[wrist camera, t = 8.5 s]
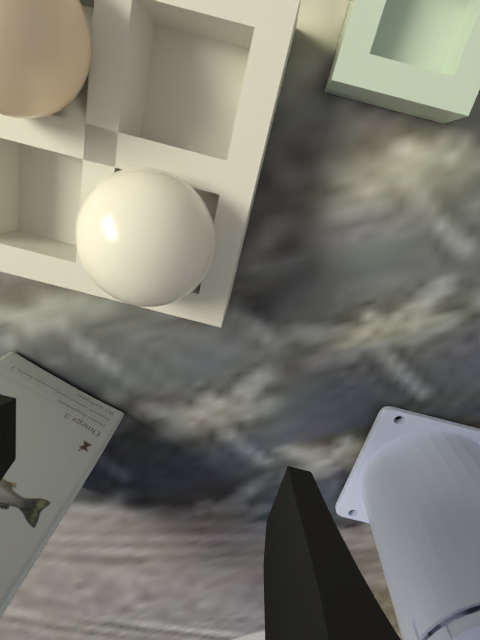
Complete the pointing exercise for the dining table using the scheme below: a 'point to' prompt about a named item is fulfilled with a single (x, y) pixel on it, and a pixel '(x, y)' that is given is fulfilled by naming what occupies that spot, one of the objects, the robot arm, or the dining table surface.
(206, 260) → the cream egg
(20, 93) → the brown egg
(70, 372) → the dining table surface
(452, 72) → the mint square frame
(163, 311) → the carton
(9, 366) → the supplement box
